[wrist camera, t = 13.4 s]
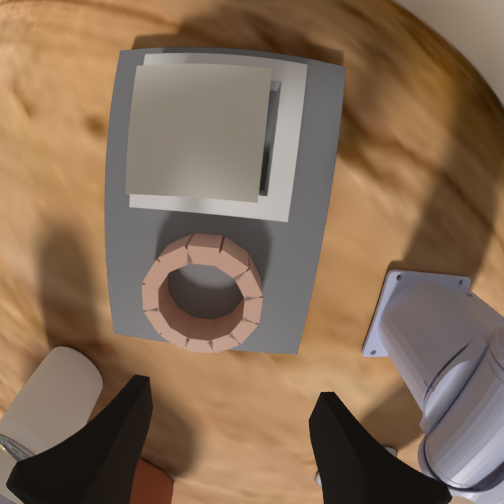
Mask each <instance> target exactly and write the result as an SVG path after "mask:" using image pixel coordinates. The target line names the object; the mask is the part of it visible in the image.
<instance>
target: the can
mask: <svg viewBox="0 0 504 504" xmlns="http://www.w3.org/2000/svg"><path fill="white" fill-rule="evenodd" d="M102 388H103V380H102V377H101V374H100V372H99V370H98V369H97V367H96V366H95V364H94V363H93V362H92V361H91V360H90V359H89V358H88V357H87V356H85V355H84V354H83V353H81V352H79V351H77V350H75V349H73V348H70V347H55V348H53V349H52V350H51V351H50V352H49V354H48V355H47V356H46V357H45V359H44V360H43V361H42V362H41V364H40V365H39V366H38V368H37V369H36V370H35V371H34V373H33V374H32V375H31V377H30V378H29V379H28V381H27V382H26V383H25V385H24V386H23V388H22V389H21V390H20V392H19V393H18V395H17V396H16V397H15V399H14V400H13V402H12V403H11V405H10V406H9V408H8V409H7V411H6V412H5V414H4V415H3V417H2V419H1V422H0V445H1V446H2V447H3V448H4V450H5V451H6V452H7V453H8V454H9V455H10V456H12V457H13V458H14V459H15V460H16V461H17V462H18V461H21V460H24V459H26V458H29V457H32V456H34V455H37V454H39V453H42V452H44V451H46V450H48V449H50V448H52V447H53V446H55V445H57V444H59V443H61V442H62V441H64V440H66V439H67V438H69V437H70V436H72V435H73V434H75V433H76V432H77V431H79V430H80V429H81V428H83V427H84V426H85V425H86V423H87V421H88V419H89V416H90V414H91V412H92V410H93V408H94V406H95V404H96V402H97V400H98V398H99V396H100V393H101V391H102Z"/></svg>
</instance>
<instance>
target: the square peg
mask: <svg viewBox="0 0 504 504" xmlns="http://www.w3.org/2000/svg"><path fill="white" fill-rule="evenodd" d="M271 75H272V69H270V68H261V67H250V66H238V65H222V64H158V65H142V66H137V68H136V74H135V81H134V88H133V95H132V103H131V112H130V122H129V133H128V146H127V163H126V191H125V194H140V195H160V196H176V197H192V198H205V199H218V200H230V201H241V202H252V203H258V196H259V187H260V178H261V168H262V159H263V150H264V140H265V131H266V122H267V112H268V103H269V94H270V84H271Z"/></svg>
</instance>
